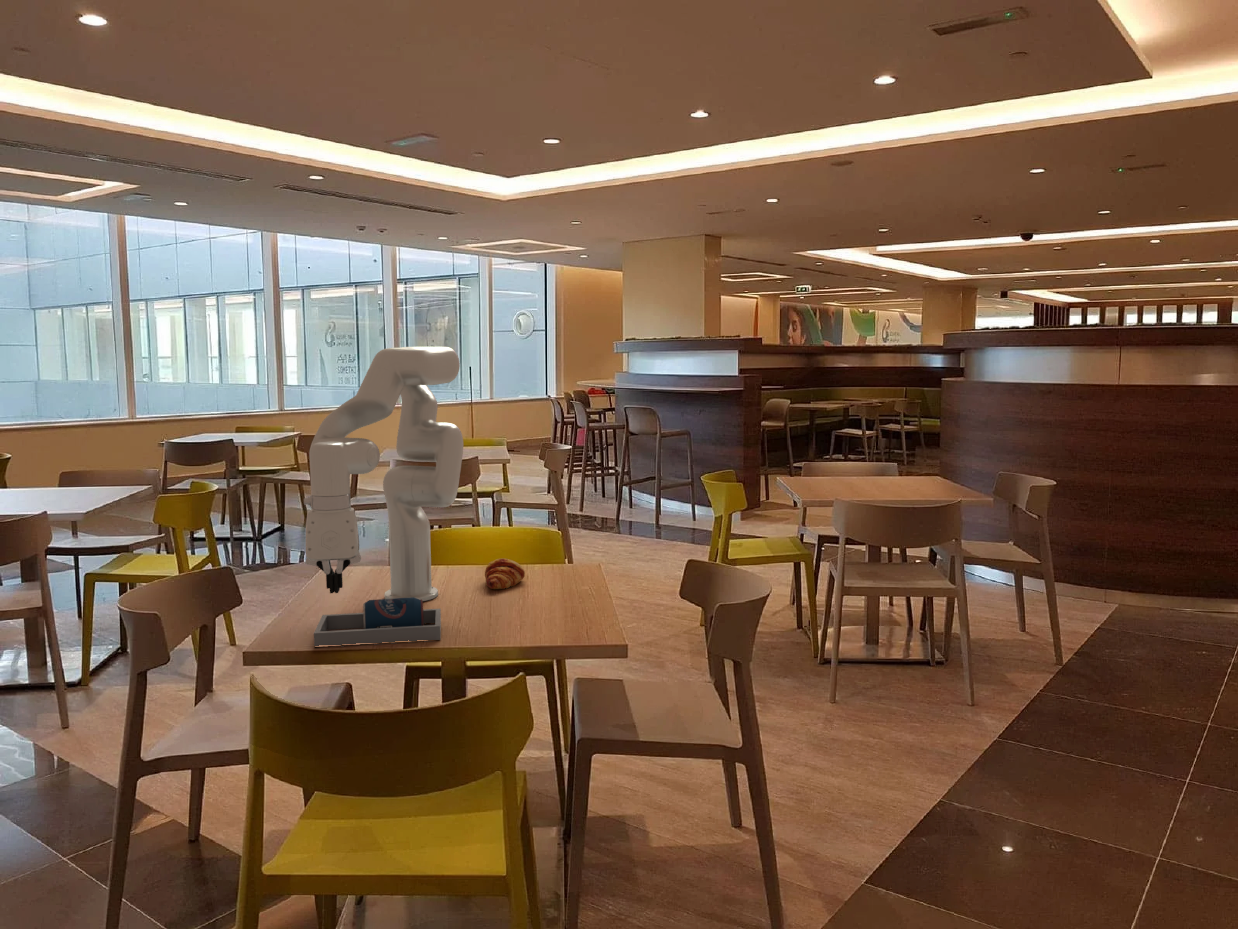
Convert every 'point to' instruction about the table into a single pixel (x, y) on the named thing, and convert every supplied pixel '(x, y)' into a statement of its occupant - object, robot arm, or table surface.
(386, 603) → the soda can
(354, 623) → the plastic frame
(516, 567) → the croissant
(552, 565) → the table surface
